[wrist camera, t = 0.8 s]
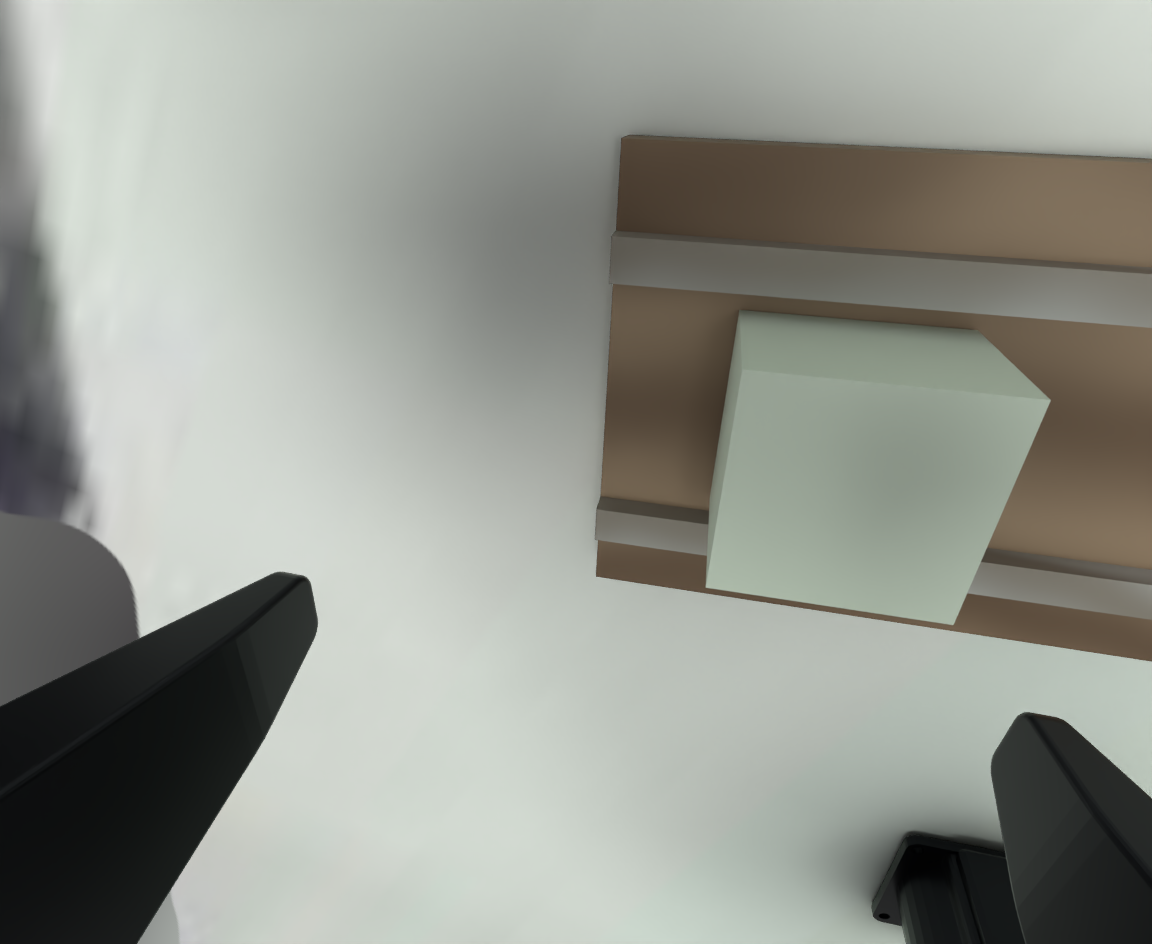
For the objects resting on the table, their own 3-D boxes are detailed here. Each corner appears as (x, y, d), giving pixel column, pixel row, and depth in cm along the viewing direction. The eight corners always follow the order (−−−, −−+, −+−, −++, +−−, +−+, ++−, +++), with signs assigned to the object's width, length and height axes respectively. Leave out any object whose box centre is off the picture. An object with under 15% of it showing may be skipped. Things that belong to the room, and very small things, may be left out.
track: (1415, 670, 21) (1616, 839, 16) (602, 551, 25) (573, 658, 20) (1875, 192, 14) (2474, 244, 9) (629, 134, 18) (593, 150, 13)
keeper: (910, 522, 20) (953, 625, 16) (710, 496, 21) (705, 587, 17) (978, 330, 17) (1050, 400, 13) (739, 309, 18) (742, 369, 14)
